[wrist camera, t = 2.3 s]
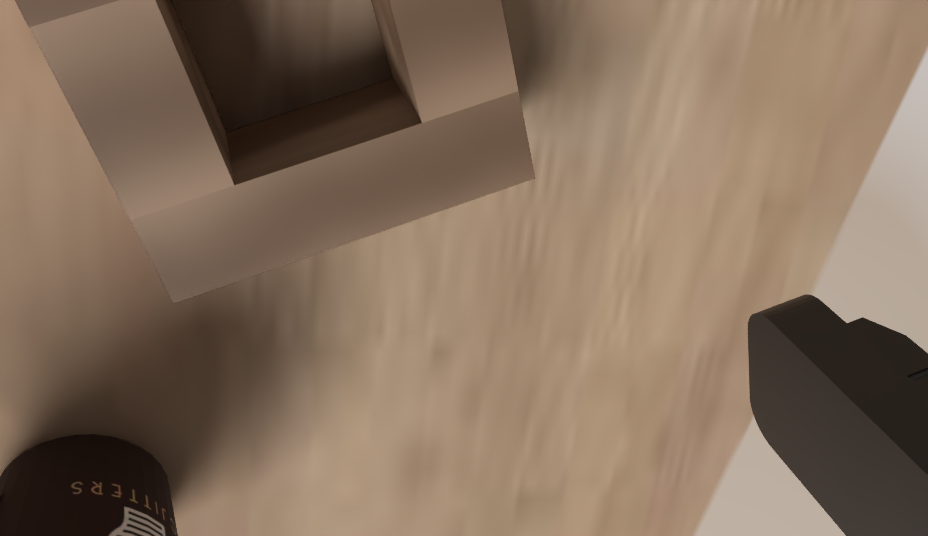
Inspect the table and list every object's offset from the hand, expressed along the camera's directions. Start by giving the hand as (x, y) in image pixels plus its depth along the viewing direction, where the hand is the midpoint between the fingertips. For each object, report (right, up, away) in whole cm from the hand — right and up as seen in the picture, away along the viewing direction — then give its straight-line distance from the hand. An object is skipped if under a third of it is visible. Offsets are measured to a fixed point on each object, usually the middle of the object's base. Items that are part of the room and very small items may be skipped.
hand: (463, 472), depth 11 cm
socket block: (-6, +10, +16) cm, 20 cm away
